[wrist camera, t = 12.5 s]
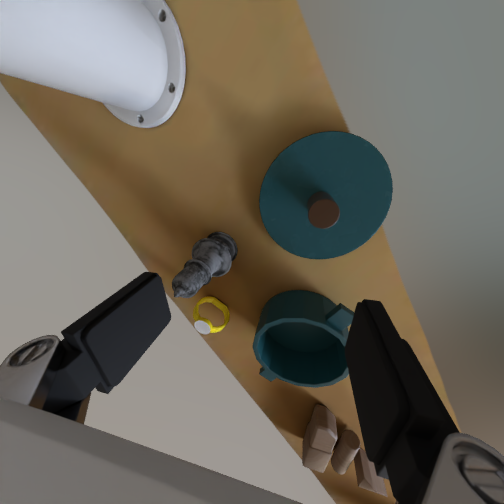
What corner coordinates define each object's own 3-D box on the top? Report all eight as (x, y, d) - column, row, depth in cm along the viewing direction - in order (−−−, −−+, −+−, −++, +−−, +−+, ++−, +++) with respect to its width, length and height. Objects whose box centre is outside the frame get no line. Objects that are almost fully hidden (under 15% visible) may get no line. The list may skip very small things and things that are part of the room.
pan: (240, 331, 36) (229, 360, 31) (303, 261, 27) (303, 285, 22) (299, 369, 37) (298, 404, 31) (380, 313, 28) (398, 349, 22)
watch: (236, 307, 34) (223, 334, 29) (228, 316, 35) (215, 343, 30) (207, 288, 34) (190, 312, 28) (201, 298, 35) (183, 322, 30)
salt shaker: (213, 222, 28) (157, 259, 17) (246, 245, 28) (211, 295, 18) (197, 251, 31) (142, 297, 20) (228, 271, 31) (188, 328, 20)
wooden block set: (301, 474, 42) (315, 434, 34) (301, 441, 47) (314, 399, 39) (387, 505, 39) (424, 469, 31) (378, 466, 44) (408, 426, 36)
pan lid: (241, 216, 27) (225, 231, 21) (308, 102, 20) (310, 80, 14) (327, 274, 27) (332, 302, 22) (421, 182, 20) (464, 190, 15)
